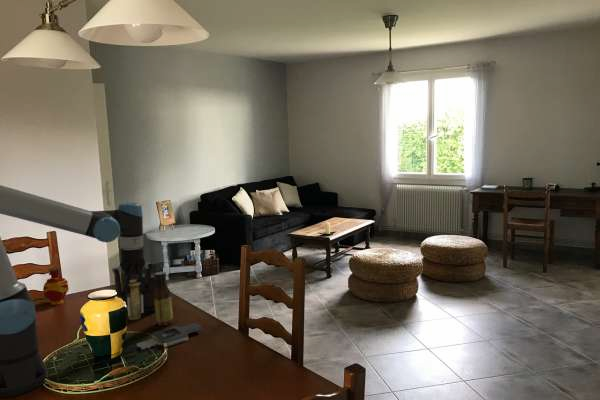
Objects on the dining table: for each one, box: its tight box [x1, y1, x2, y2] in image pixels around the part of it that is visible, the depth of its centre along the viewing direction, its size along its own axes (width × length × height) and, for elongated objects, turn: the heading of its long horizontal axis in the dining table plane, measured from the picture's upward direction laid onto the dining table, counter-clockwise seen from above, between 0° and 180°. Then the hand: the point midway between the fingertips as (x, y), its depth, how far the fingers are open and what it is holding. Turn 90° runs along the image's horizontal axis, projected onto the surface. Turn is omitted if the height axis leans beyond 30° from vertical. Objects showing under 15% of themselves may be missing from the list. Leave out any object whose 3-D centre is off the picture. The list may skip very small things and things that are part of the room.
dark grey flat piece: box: [136, 322, 203, 350], centre depth 163 cm, size 22×9×2 cm, turn 130°
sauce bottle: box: [154, 271, 174, 327], centre depth 176 cm, size 6×6×20 cm
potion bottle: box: [42, 267, 70, 306], centre depth 202 cm, size 10×10×15 cm
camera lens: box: [140, 272, 156, 314], centre depth 190 cm, size 8×8×15 cm
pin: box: [128, 279, 142, 321], centre depth 163 cm, size 5×5×13 cm
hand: (134, 313), depth 163 cm, fingers closed on pin, 4 cm apart
